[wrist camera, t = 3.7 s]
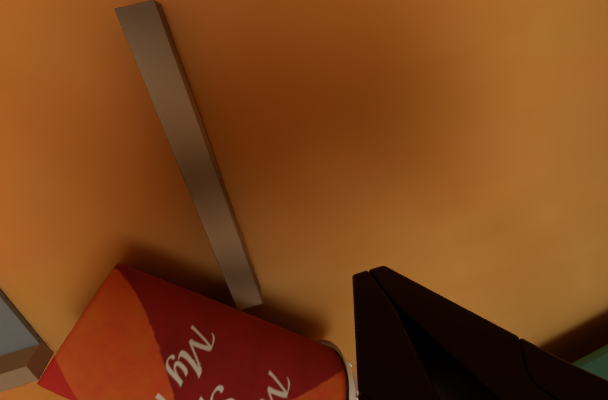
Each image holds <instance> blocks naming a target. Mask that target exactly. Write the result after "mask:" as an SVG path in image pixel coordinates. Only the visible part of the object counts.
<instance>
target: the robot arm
mask: <svg viewBox="0 0 608 400" xmlns="http://www.w3.org/2000/svg"><path fill="white" fill-rule="evenodd" d="M353 299H354V319H355V340H356V360H357V380H358V394H359V396H358V400H608V380H606V379H603V378H601V377H599V376H597V375H595V374H592V373H590V372H588V371H586V370H584V369H582V368H579V367H577V366H575V365H573V364H571V363H569V362H567V361H565V360H563V359H561V358H559V357H557V356H555V355H553V354H551V353H549V352H547V351H545V350H543V349H541V348H539V347H537V346H536V345H534V344H532V343H530V342H528V341H526V340H524V339H519V338H518V336H516V335H514V334H513V333H511V332H509V331H507V330H505V329H503V328H501V327H499V326H497V325H496V324H494V323H492V322H490V321H488V320H486V319H484V318H482V317H480V316H478V315H477V314H475V313H473V312H471V311H469V310H467V309H465V308H463V307H461V306H460V305H458V304H456V303H454V302H452V301H450V300H448V299H446V298H444V297H443V296H441V295H439V294H437V293H435V292H433V291H431V290H429V289H427V288H426V287H424V286H422V285H420V284H418V283H416V282H414V281H412V280H410V279H409V278H407V277H405V276H403V275H401V274H399V273H397V272H395V271H393V270H392V269H390V268H388V267H386V266H380V267H377V268H373V269H371V270H369V272H368V271H364V272H361V273H357V274H354V275H353Z"/></svg>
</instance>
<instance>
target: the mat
mask: <svg viewBox="0 0 608 400" xmlns="http://www.w3.org/2000/svg"><path fill="white" fill-rule="evenodd" d="M52 355H53V353H52V352H51V350H50V349H49V348H48V347H47V345H46V344H45V343H44V342H43V341H42V339H41V338H40V337H39V336H38V335H37V333H36V332H35V331H34V330H33V328H32V327H31V326H30V325H29V324H28V322H27V321H26V320H25V319H24V318H23V316H22V315H21V314H20V313H19V311H18V310H17V309H16V308H15V307H14V305H13V304H12V303H11V302H10V301H9V299H8V298H7V297H6V296H5V294H4V293H3V292H2V291H1V290H0V392H2V391H6V390H9V389H12V388H15V387H18V386H22V385H25V384H28V383H31V382H34V381H37V380H39V378H40V377H41V375H42V373H43V371H44V369H45V368H46V366H47V364H48V362H49V361H50V359H51V357H52Z"/></svg>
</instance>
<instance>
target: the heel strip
mask: <svg viewBox="0 0 608 400" xmlns="http://www.w3.org/2000/svg"><path fill="white" fill-rule="evenodd" d="M115 12H116V14H117V16H118V19H119V21H120V24H121V26H122V29H123V31H124V34H125V36H126V38H127V41H128V43H129V46H130V48H131V51H132V53H133V56H134V58H135V60H136V63H137V65H138V68H139V70H140V73H141V75H142V78H143V80H144V82H145V85H146V87H147V90H148V92H149V95H150V97H151V100H152V102H153V104H154V107H155V109H156V112H157V114H158V117H159V119H160V122H161V124H162V126H163V129H164V131H165V134H166V136H167V139H168V141H169V144H170V146H171V148H172V151H173V153H174V156H175V158H176V161H177V163H178V166H179V168H180V170H181V173H182V175H183V178H184V180H185V183H186V185H187V188H188V190H189V192H190V195H191V197H192V200H193V202H194V205H195V207H196V210H197V212H198V214H199V217H200V219H201V222H202V224H203V227H204V229H205V232H206V234H207V236H208V239H209V241H210V244H211V246H212V249H213V251H214V254H215V256H216V258H217V261H218V263H219V266H220V268H221V271H222V273H223V276H224V278H225V280H226V283H227V285H228V288H229V290H230V293H231V295H232V298H233V300H234V302H235V305H236V307H237V309H238V310H243V309H246V308H249V307H253V306H256V305H259V304H262V297H261V289H260V285H259V282H258V280H257V277H256V274H255V271H254V268H253V265H252V263H251V260H250V257H249V254H248V251H247V248H246V245H245V243H244V240H243V237H242V234H241V231H240V228H239V226H238V223H237V220H236V217H235V214H234V211H233V209H232V206H231V203H230V200H229V197H228V194H227V191H226V189H225V186H224V183H223V180H222V177H221V174H220V172H219V169H218V166H217V163H216V160H215V157H214V155H213V152H212V149H211V146H210V143H209V140H208V137H207V135H206V132H205V129H204V126H203V123H202V120H201V118H200V115H199V112H198V109H197V106H196V103H195V101H194V98H193V95H192V92H191V89H190V86H189V83H188V81H187V78H186V75H185V72H184V69H183V66H182V64H181V61H180V58H179V55H178V52H177V49H176V46H175V44H174V41H173V38H172V35H171V32H170V29H169V27H168V24H167V21H166V18H165V15H164V12H163V10H162V7H161V4H160V3H158V2H156V1H154V0H152V1H147V2H143V3H138V4H134V5H129V6H125V7H120V8H116V9H115Z"/></svg>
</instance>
